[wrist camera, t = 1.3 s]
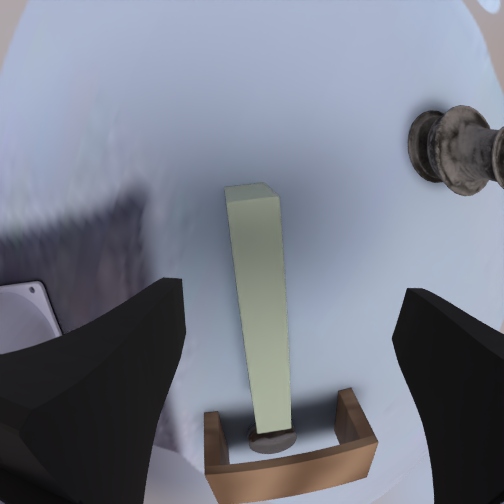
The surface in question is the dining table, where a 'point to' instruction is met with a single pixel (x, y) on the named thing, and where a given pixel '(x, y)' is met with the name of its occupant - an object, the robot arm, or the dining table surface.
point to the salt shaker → (457, 149)
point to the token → (271, 440)
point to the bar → (261, 299)
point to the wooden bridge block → (291, 460)
